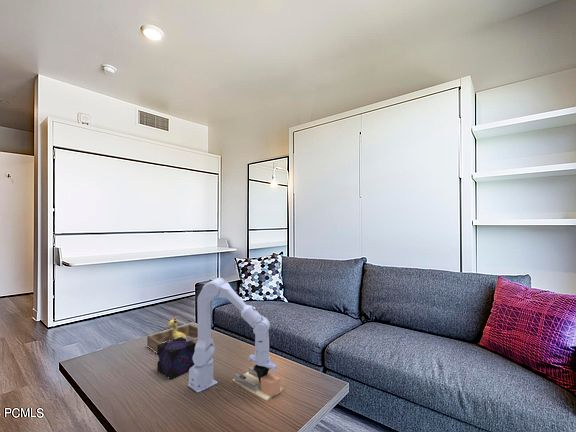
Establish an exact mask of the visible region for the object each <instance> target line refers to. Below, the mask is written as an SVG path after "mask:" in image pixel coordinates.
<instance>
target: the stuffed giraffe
mask: <svg viewBox="0 0 576 432" xmlns="http://www.w3.org/2000/svg"><path fill="white" fill-rule="evenodd" d="M177 318H178V317H176V316H174V318H173V319H170V320H169V321H168V323H167V325H166V326H167V329H168V330H171V328H172V329H173V330H172V338H173V340H174V339H177V338H180V337H183V338H185V339H186V341H188V340H191V339H194V338H195V337H192V336H190V337H187V336H186V335H185V334H184V333H181V332H178V331H177V328H178V327H179V326H178V319H177ZM173 340H170V341H166V342H167V343H169V342H172V341H173Z"/></svg>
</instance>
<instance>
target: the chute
mask: <svg viewBox="0 0 576 432" xmlns="http://www.w3.org/2000/svg"><path fill="white" fill-rule="evenodd" d="M231 382H233V383H234V384H237V385H238V386H240V387H242V388H243V389H244V390H246V391H248V392H249V393H251V394H254V395H255V396H257V397H259V398H260V399H262V400H264V401H266V402H268V401H269V400H270V399H272V398H274V397H275V396H277V395H279V394H280V393H282V392H283V391H285V387H283V386H281V385H280V392H278V393H276V394H275V395H273V396H272V397H271V396H269V395H268V394H266V393H264V392H262V391H261V384H260V383H259V379H258V375H257V373H256V371H255V369H254V367H252V366H249V367H248V371H247V372H245V373H243V374H239V373H235V374H234V378H233V379H232V380H231Z"/></svg>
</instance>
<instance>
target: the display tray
mask: <svg viewBox="0 0 576 432" xmlns="http://www.w3.org/2000/svg"><path fill="white" fill-rule="evenodd" d="M172 330H173V328H172V329H171V328H170V329H168V330H165V331H161V332H158V333H154V334H151V335H147V339H146V341H147V343H146V344H147V345H148V346H149V347H150V348H152V349H153V350H154V351H156V352H157V345H159V344H162V342H165V341H169V340H173V338H172ZM177 331H178V332H181V333H184V334H185V335H186V337H187V335H188V336H190V337H195V338H194V339H191V340H188V342H189V341H192V342H194V343H195V346H196V344H197V341H198V326H195V325H193V324H190V323H189V324H185V325H183V326H178V327H177ZM147 345H146V346H147ZM154 351H153V352H154Z"/></svg>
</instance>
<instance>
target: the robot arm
mask: <svg viewBox="0 0 576 432" xmlns="http://www.w3.org/2000/svg"><path fill="white" fill-rule="evenodd" d="M216 296H217V298H218V299H227V300H228V302H230V303H231V304H232V305H233V306H234V307H236V309H238V310H239V311H240V316H241V318H242V319H243V320H244V321H245V322H246V323H248V325H250V327H251V328H253V329H252V331H253V334H254V335H255V337H254V348H255V349H254V354H253V353H252V354H250V355H248V361H250V362H251V361H252V362H253V363H254V364H255V365H254V366H253V368H254V369H255V371H256V373H257V375H258V379H259V383H260V384H261V378H262V377H263V376H265V375H267V374H269V372H270V371H271V372H273V373H274V372H275V371H277V364H276V363H274V362H273V361H272V360H271V359H272V358H271V357H270V337H269V336H270V333H269V330H270V328H271V322H270V320H269V318H268V317H265V316H263V315H261V314H260V313H259V311H257V310H256V306H252V305H250V304H247V303H245V301H243V299H242V298H241V296H239V294H238V293H237V292H236V291H235V290H234V289H233V287H232V286H231V285H230V283H229V282H228V281H226V280H225V279H224V278H222V277H217V278H214V279H213V280H211V281H208V282H207V283H205V284H204V285H202V288H201V291H200V293H199V294H198V296H197V305H196V306H197V308H196V309H197V328H198V341H197V344H196V346H195V352H194V354H193V362H194V364H195V365H194V366H192V367H191V368H190V369H189V372H188V384H187V387H189V388H190V389H192V390H193V391H195V392H196V393H200V392H203V391H204V390H206V389H209V388H211V387H212V386H215V385H217V384H218V381H217V380H215V379H214V357H213V356H214V355H215V354H216V346H215V345H214V339H213V338H212V315H211V313H212V312H211V311H212V309H211V301H212V300H213V299H214V298H215V297H216Z"/></svg>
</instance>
